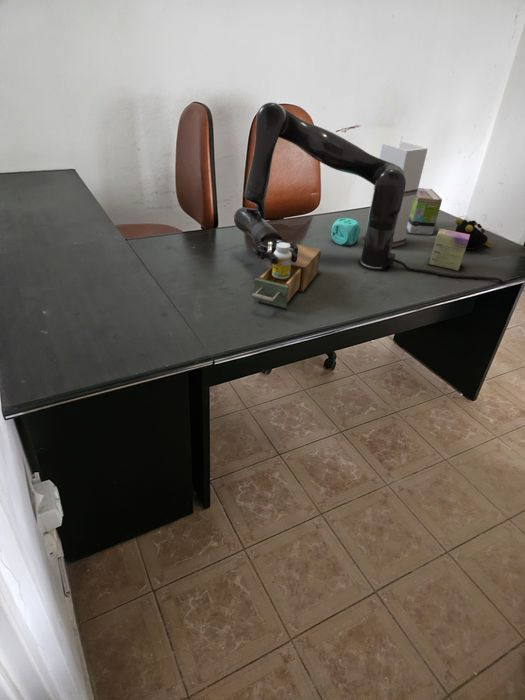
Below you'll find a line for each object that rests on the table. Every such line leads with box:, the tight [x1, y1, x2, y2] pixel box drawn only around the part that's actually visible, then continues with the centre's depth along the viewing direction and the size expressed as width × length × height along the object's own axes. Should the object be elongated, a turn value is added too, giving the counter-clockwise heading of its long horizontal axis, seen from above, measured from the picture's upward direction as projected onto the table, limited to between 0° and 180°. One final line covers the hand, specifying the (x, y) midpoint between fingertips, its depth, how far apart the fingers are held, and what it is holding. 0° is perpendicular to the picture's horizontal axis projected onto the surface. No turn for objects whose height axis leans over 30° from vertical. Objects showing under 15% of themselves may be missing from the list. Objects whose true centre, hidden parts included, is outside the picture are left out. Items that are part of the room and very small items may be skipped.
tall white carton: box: [364, 141, 428, 248], centre depth 176 cm, size 11×11×35 cm
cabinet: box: [269, 243, 322, 293], centre depth 153 cm, size 15×11×8 cm
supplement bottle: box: [272, 242, 292, 279], centre depth 139 cm, size 5×5×10 cm
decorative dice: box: [330, 217, 361, 246], centre depth 181 cm, size 8×8×8 cm
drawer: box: [251, 265, 302, 309], centre depth 140 cm, size 20×10×7 cm, turn 156°
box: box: [428, 228, 470, 272], centre depth 167 cm, size 10×6×12 cm, turn 65°
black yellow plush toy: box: [454, 217, 493, 250], centre depth 181 cm, size 12×15×15 cm
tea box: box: [406, 187, 443, 235], centre depth 195 cm, size 15×10×15 cm, turn 179°
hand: (285, 260), depth 136 cm, fingers closed on supplement bottle, 5 cm apart
